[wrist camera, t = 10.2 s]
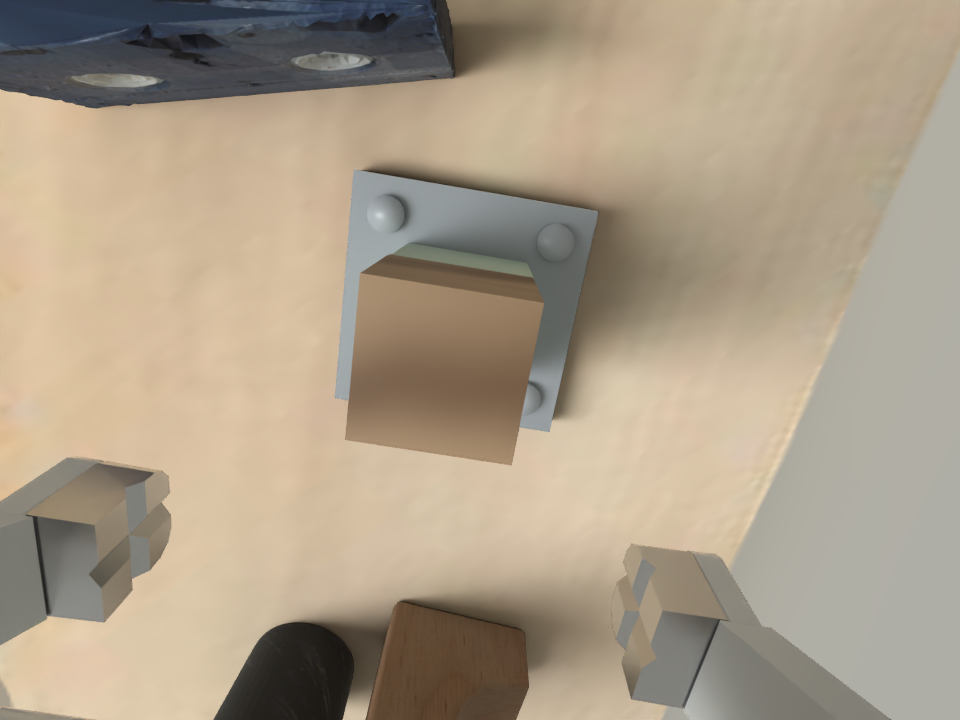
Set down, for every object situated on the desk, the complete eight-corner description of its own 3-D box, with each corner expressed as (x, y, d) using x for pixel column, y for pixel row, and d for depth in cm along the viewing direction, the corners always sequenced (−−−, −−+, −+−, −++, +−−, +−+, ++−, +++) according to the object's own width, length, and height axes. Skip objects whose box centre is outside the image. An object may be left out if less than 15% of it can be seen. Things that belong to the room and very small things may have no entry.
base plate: (361, 170, 27) (351, 169, 25) (593, 210, 27) (600, 211, 26) (342, 388, 31) (332, 401, 29) (546, 420, 31) (550, 435, 29)
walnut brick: (388, 253, 22) (359, 273, 17) (533, 277, 22) (544, 303, 17) (374, 388, 24) (345, 439, 19) (507, 409, 24) (511, 465, 19)
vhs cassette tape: (454, 20, 25) (431, -81, 15) (457, 90, 26) (437, 35, 16) (73, 41, 26) (-173, -43, 16) (89, 109, 26) (-134, 67, 17)
